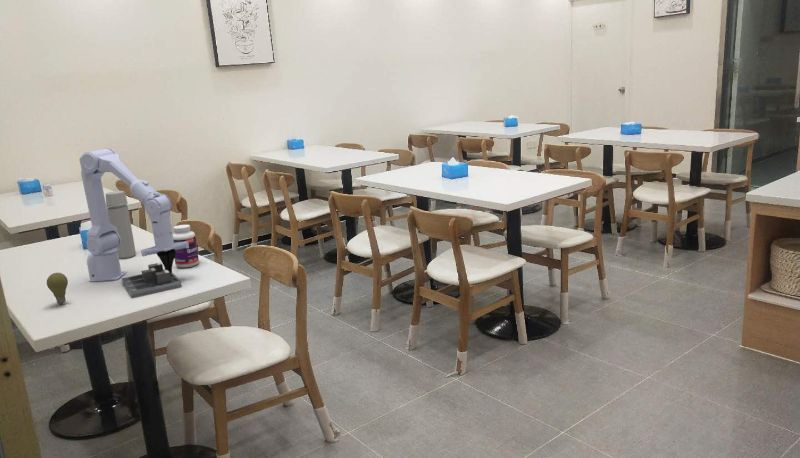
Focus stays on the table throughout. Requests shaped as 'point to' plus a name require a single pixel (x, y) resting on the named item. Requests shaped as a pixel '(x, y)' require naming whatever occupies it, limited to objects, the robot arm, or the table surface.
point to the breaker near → (163, 277)
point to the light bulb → (58, 286)
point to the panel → (147, 285)
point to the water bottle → (121, 222)
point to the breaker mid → (149, 275)
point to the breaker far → (156, 266)
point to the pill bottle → (185, 255)
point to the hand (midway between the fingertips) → (169, 272)
